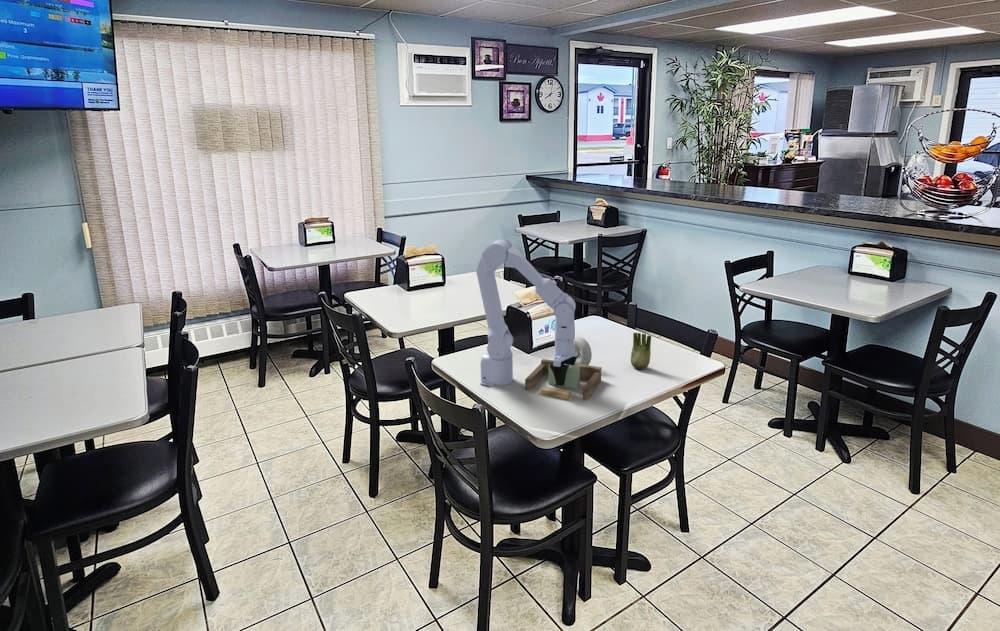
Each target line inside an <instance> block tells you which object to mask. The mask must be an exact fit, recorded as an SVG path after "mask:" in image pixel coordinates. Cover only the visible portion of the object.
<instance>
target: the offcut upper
mask: <svg viewBox="0 0 1000 631" xmlns="http://www.w3.org/2000/svg"><path fill="white" fill-rule="evenodd" d="M540 391H541V394H543V395H548V396H547V397H549V396H553V397H552V398H555V397H558V398H557V399H561V398H563V399H562V400H566V399H569V398H570V397H571V395H572V390H569V389H563V388H559V387H558V388H557V387H553V386H547V385H544V386H543V387H542V388H540ZM543 395H542V396H543Z"/></svg>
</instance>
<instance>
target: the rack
mask: <svg viewBox="0 0 1000 631" xmlns="http://www.w3.org/2000/svg"><path fill="white" fill-rule="evenodd" d="M553 360H554V359H553ZM553 360H552V359H545V358H542V359H541V361H540V364H539V365H537V367H536V368H535V369H534V370H533V371H532V372H531V373H530V374H528V376H527V377H526V378H525V380H524V385H525V387H524V388H525V389H524V390H525V391H531V390H533V388H534V387H535V386H536V385H537V384H538V383H539V382H540V380H541V379H542V378H544V376H545V375H549V364H550V363H551V362H553ZM574 366H580V381H582V380H583V381H587V382H586V383H585V385H584V386H583V388H582V400H584V401H585V400H586V401H589V399H590V398H591V396H592V395H593V394H594V392H595V390H597V388H598V386H599V385H600V383H601V381H602V372H603V371H602V368H603V367H602V366H595V365H590V364H589V365H582V364H575V365H574Z"/></svg>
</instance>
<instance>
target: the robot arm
mask: <svg viewBox="0 0 1000 631" xmlns="http://www.w3.org/2000/svg"><path fill="white" fill-rule="evenodd" d="M504 263H505V264H504ZM503 264H504V265H503ZM501 265H503V266H504V267H505V268H512V269H513V268H514V269H515V270H517V271H518V272H519V273H520V274H521V275H522V276H524V278H526V279H527V280H528V282H529V283H531V284H532V285H533V286H534V287H535V288H534V289H535V293H536V295H537V296H539V298H540V299H541V300H542V301H543V302H544V304H546V305H548V307H549V308H550V309H552V310H553V311H552V312H553V315H554V317H555V323H554V352H553V355H554V357H553V362H551V363H550V368H551V370H552V371H553V374H554V377H555V381H556V385H555V386H557V385H558V386H557V387H563V386H564V383H565V377H566V372H567V369H568V367H569V366H570V365H575V362H576V359H577V357H578V355H579V353H578V352H575V344H574V339H575V334H576V333H575V332H576V331H575V330H576V329H575V328H576V327H575V326H576V324H575V312H576V311H575V310H576V309H577V308H576V301H575V300H574V299H573V297H572V296H570V295H568V293H566V292H564V291H562V289H560V288H559V287H558V286H557V283H558V282H557V281H555V280H552V279H550V278H547V277H546V278H545V277H543V276H542V275H541V273H540V272H538V271H537V269H536V268H535V267H534V266H533V265H532V263H530V262H529V261H528V260H527V259H526V257H525V256H524V255H523V254H522V253H521V252H520V250H519V248H517V247H516V246H515V245H512V243H511V242H510V241H509V240H508V239H507V238H501V237H500V238H497V239H495V240H494V241H493V242H492V243H491V244H489V245H488V246H487V247H486V248H485V249H484V250H483V251H482V253H481V257H480V260H479V262H478V264H477V268H476V277H477V280H478V285H479V291H480V295H481V299H482V305H483V310H484V313H485V318H486V319H485V320H486V323H487V327H488V329H487V330H488V331H487V340H488V341H487V342H488V343H487V346H486V350H487V352H486V353H483V354H482V357H481V360H480V382H479V384H480V385H483V386H489V387H493V386H494V385H495V386H506V385H509V384H512V383H513V380H514V374H513V373H514V370H513V368H514V367H513V362H514V360H513V352H512V351H511V348H512V346H513V344H514V337H513V335H512V334H511V332H510V330H509V327H508V325H507V324H506V323H505V319H504V318H505V317H504V313H503V308H502V304H501V299H500V293H499V290H498V285H497V279H496V276H495V275H496V274H495V272H496V271H497V270H498V269H499V267H500V266H501ZM564 364H567V365H564Z"/></svg>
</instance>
